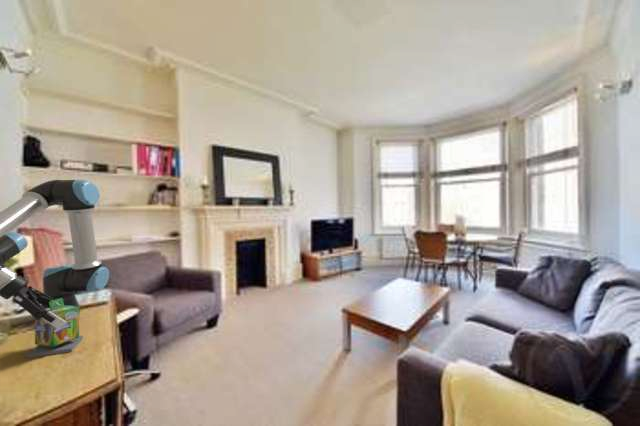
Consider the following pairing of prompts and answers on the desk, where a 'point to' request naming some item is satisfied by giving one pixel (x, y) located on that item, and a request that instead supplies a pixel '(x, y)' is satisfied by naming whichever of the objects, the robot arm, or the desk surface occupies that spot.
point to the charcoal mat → (54, 348)
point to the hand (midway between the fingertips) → (65, 320)
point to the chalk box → (53, 335)
